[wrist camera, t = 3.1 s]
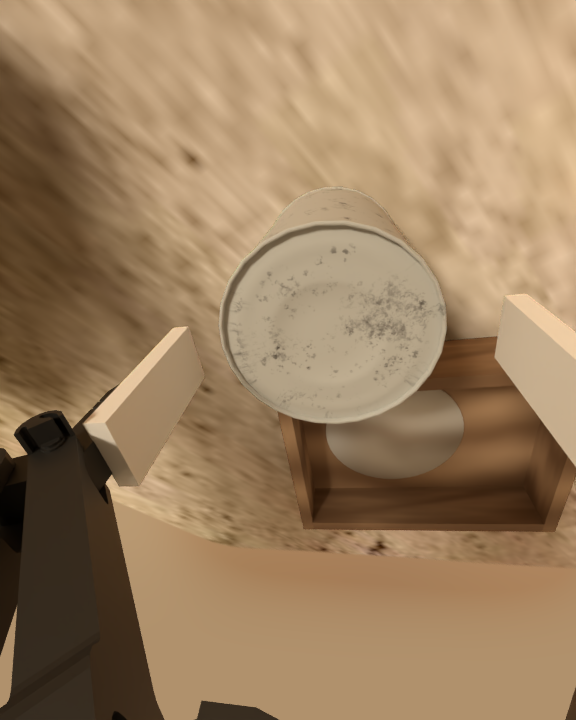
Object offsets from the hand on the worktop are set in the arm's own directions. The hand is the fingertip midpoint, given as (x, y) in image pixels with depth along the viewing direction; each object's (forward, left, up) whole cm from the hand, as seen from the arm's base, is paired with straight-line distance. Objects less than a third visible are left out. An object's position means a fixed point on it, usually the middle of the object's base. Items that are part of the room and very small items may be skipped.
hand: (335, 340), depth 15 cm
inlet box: (+16, +6, -12) cm, 21 cm away
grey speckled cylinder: (0, 0, -12) cm, 12 cm away
